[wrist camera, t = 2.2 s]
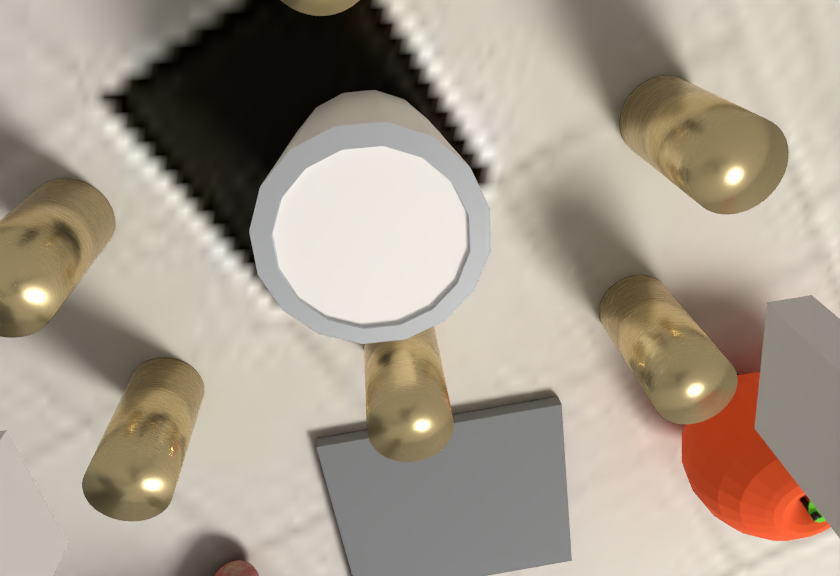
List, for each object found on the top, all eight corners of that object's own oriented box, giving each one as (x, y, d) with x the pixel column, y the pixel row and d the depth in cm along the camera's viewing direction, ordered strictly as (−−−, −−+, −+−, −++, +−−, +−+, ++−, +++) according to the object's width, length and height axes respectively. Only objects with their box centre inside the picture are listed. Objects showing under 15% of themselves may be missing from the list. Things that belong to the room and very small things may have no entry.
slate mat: (358, 588, 36) (358, 598, 36) (316, 438, 32) (316, 447, 31) (568, 551, 36) (571, 560, 36) (557, 396, 32) (561, 404, 31)
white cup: (276, 60, 24) (251, 108, 18) (472, 82, 25) (513, 136, 19) (269, 243, 27) (246, 339, 21) (445, 257, 28) (472, 353, 22)
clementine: (799, 302, 31) (915, 400, 24) (841, 407, 34) (954, 519, 27) (633, 389, 32) (702, 504, 26) (687, 483, 35) (761, 606, 29)
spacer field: (121, 425, 30) (72, 532, 25) (-86, -43, 22) (-228, -32, 16) (690, 326, 31) (762, 411, 25) (710, -176, 22) (825, -207, 17)
